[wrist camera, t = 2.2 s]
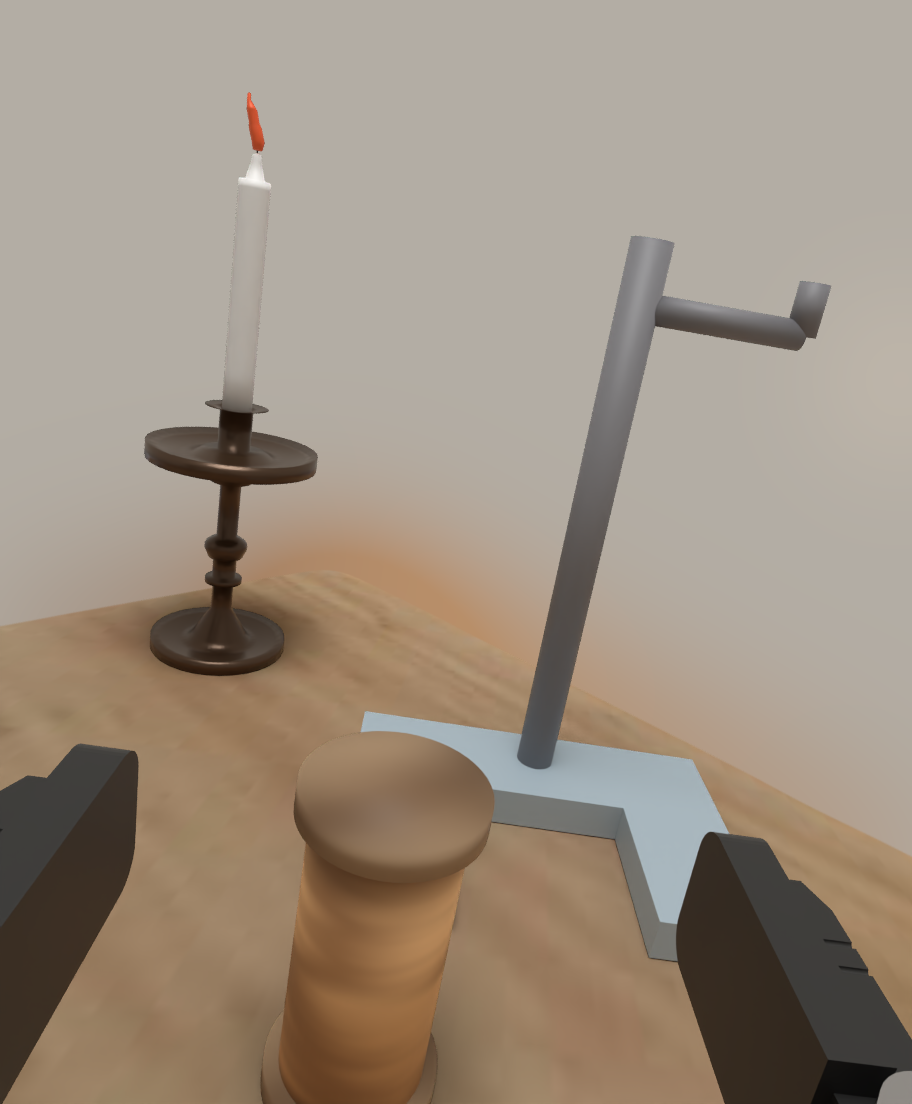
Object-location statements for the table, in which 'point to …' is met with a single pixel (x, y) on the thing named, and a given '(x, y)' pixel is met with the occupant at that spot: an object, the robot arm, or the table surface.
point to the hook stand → (536, 755)
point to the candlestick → (231, 462)
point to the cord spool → (373, 917)
